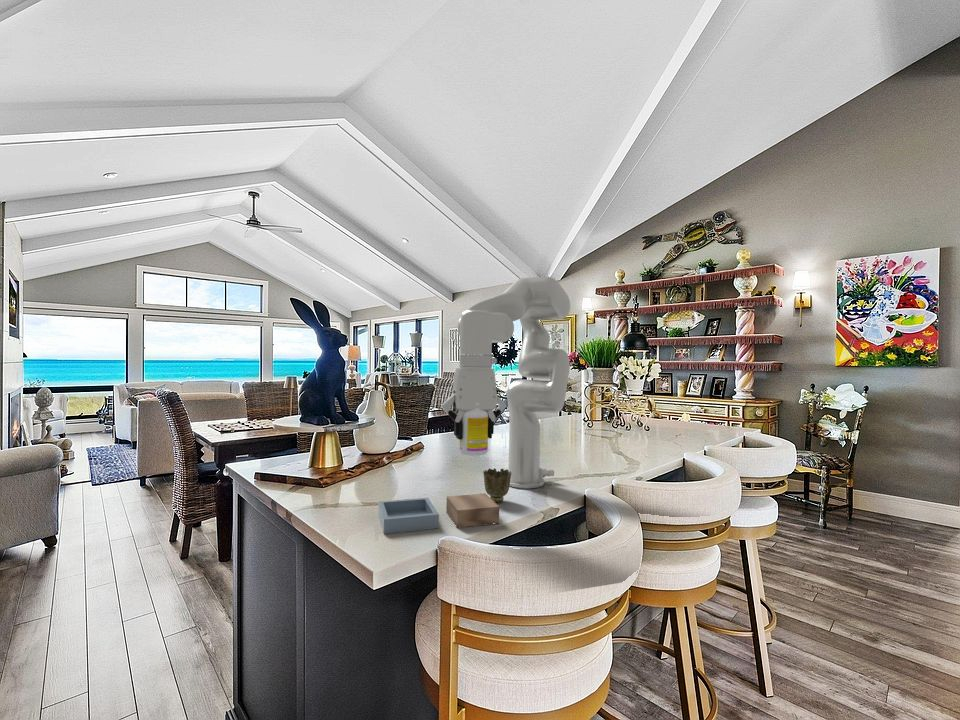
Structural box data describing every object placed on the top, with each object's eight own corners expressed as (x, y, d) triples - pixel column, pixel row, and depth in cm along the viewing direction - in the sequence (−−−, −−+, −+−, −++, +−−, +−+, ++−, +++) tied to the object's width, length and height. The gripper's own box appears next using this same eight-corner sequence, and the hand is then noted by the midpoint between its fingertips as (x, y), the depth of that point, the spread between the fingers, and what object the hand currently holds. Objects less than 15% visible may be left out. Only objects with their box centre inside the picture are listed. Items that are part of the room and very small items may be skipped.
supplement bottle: (493, 453, 105) (494, 399, 105) (473, 457, 100) (474, 401, 100) (473, 448, 110) (475, 397, 110) (453, 452, 105) (454, 398, 105)
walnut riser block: (484, 509, 111) (485, 493, 111) (498, 523, 102) (499, 506, 102) (446, 512, 108) (446, 496, 108) (457, 528, 99) (457, 510, 99)
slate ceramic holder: (427, 510, 110) (428, 497, 110) (438, 528, 99) (438, 514, 99) (378, 514, 106) (378, 501, 106) (383, 533, 95) (384, 519, 95)
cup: (480, 504, 115) (481, 474, 115) (484, 496, 122) (485, 467, 122) (509, 507, 114) (510, 475, 114) (511, 497, 121) (512, 468, 121)
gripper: (503, 363, 111) (502, 434, 111) (436, 361, 106) (434, 436, 106) (515, 363, 104) (513, 439, 104) (443, 362, 99) (441, 442, 99)
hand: (473, 437), depth 105 cm, fingers closed on supplement bottle, 6 cm apart
